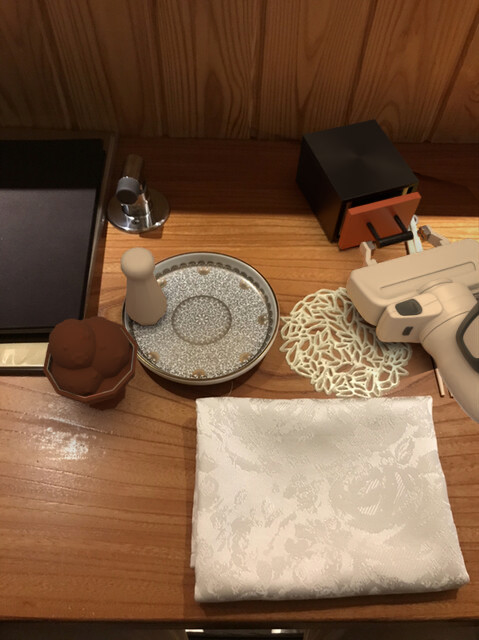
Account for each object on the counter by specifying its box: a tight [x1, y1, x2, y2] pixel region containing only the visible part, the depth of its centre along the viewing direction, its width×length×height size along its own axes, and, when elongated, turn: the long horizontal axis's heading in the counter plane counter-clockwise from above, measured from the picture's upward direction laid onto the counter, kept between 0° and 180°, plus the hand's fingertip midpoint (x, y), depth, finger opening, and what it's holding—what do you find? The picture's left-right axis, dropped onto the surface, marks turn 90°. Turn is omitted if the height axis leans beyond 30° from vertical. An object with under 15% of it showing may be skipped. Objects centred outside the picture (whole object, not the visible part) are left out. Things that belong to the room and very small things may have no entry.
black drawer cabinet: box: [295, 118, 420, 244], centre depth 89 cm, size 15×13×10 cm
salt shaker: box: [120, 246, 168, 327], centre depth 75 cm, size 6×6×13 cm
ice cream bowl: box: [42, 315, 139, 412], centre depth 67 cm, size 11×11×15 cm
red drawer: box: [337, 188, 422, 250], centre depth 86 cm, size 18×11×8 cm, turn 19°
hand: (393, 236), depth 82 cm, fingers open, 8 cm apart
